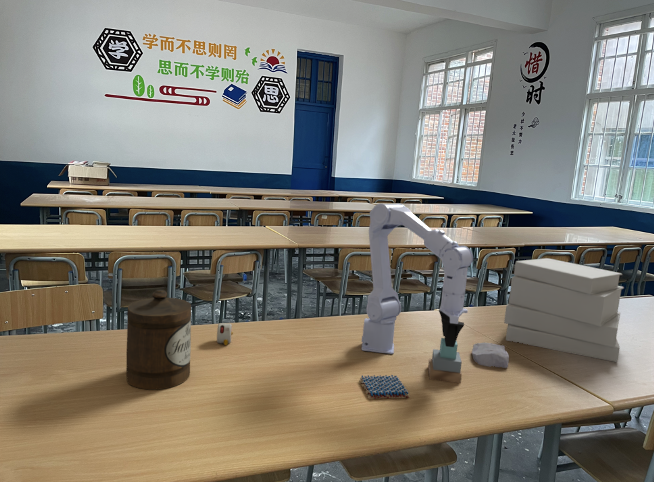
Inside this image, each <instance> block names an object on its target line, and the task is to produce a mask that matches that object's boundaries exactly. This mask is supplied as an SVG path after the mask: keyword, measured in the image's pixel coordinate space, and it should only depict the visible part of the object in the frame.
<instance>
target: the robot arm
mask: <svg viewBox="0 0 654 482" xmlns="http://www.w3.org/2000/svg"><path fill="white" fill-rule="evenodd" d="M369 218H370V219H369V221H370V222H369V227H368V237H369V238H368V239H369V251H370V262H371V263H370V264H371V273H372V274H371V275H372V287H373V289H372V291H371V292H370V293H369V294H368V296H367V305H366V315H367V317H368V318H367V317H366V318H364V321H363V327H362V328H363V329H362V336H361V351H364V352H373V353H380V354H381V353H382V354H388V355H389V354H390V355H393V354H394V353H395V344H394V337H395V323H396V320H397V317H398V316H400V314H401V312H402V305H401V302H400V299H399V295H398V292H397V291H396V290H395V289H394V288H393V285H392V273H391V262H390V251H389V239H388V236H389V234H390V233H392V231H393V230H394V229H396V228H398V227H399V226H403V227H404V228H407V230H409V231H411V232H412V233H414V234H415V235H416V236H418V237H419V238H421V239H422V240H423V245H424V247H426V249H427V250H430V251H431V253H433V254H434V255H435V256H436V257H438V259H440V260H441V263H442V266H443V273H444V275H443V284H442V292H441V293H442V294H441V302H440V303H441V304H440V306H439V309H438V312H439V314H440V320H441V321H440V322H441V329H442V331H441V332H442V337H444V338H445V345H446V346H447V347H454V345H455V343H456V341H457V339H458V337H459V334H460V333H461V330H462V329H463V328H464V326H465V323H464V322H463V321H462V322H461V321H459V320H460V319H459V318H460V316H462V315H463V314H468V313H469V310H468V309H467V308H466V307H465V308H464V304H465V295H466V286H467V277H468V268H469V267H470V266H471V265H472V263H473V261H474V255H473V253H472V250H471V249H470V248H469V247H468V246H466V245H459V243H458V242H457V240H453V239H451V238H450V237H448V236H447V235H446V231H444V230H443V229H431V228H430V227H429V226H428V225H427V224H426V223H425V222H423V221H422V220H421V219H420V218H418V217H417V216H416V215H415V214H413V212H412V211H411V209H410V208H408V207H407V206H405V205H404V204H403V203H399V202H397V203H382V202H381V203H376V204H375V205H374V206H373V208H371V210H370V211H369Z"/></svg>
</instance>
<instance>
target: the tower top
mask: <svg viewBox="0 0 654 482" xmlns="http://www.w3.org/2000/svg"><path fill="white" fill-rule="evenodd" d="M431 359H432V363H433V370H441V371H449V372H457V373H462V371H461V370H462V358H461V355H460V352H458V351H457V354H456V359H451V358H443V357H440V349H435V348H433V349H432V356H431Z"/></svg>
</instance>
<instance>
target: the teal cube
mask: <svg viewBox="0 0 654 482" xmlns="http://www.w3.org/2000/svg"><path fill="white" fill-rule="evenodd" d="M439 350H440V357H443V358H451V359H456V354H457V352H458V341H457V340H456V343H455V345H454V347H447V346H446V345H445V337H440V344H439Z"/></svg>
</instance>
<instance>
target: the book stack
mask: <svg viewBox="0 0 654 482" xmlns="http://www.w3.org/2000/svg"><path fill="white" fill-rule="evenodd" d="M620 276H623V273H621V272H615V271H612V270H607V269H601V268H596V267H592V266H588V265H587V266H586V265H584V264H583V265H582V264H578V263H574V262H567V261H563V260H558V259H554V258H549V257H548V258H537V259H536V258H535V259H526V260H525V259H524V260H516V261H515V265H514V276H512V278H511V282H510V290H509V297H508V303H507V304H506V306H505V314H504V320H503V322H504V324H505V325H507V326H506V335H505V341H509V342H512V341H513V342H514V343H517V342H519V344H522V343H523V345H527V344H528V345H529V346H533V347H538V348H544V349H547V350H548V349H549V350H553V351H559V352H563V353H569V354H574V355H579V356H583V357H588V358H593V359H599V360H604V361H609V362H613V363H617V362H618V361H619V354H620V348H621V347H620V343H619V342H618V340H617V335H618V328H619V325H620V324H619V323H620V317H621V312H620V311H619V307H620V306H619V305H620V300H621V299H620V298H621V294H622V290H623V289H625V287H624V286H622V285H621V286H620V285H619V279H620ZM513 342H512V343H513Z"/></svg>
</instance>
